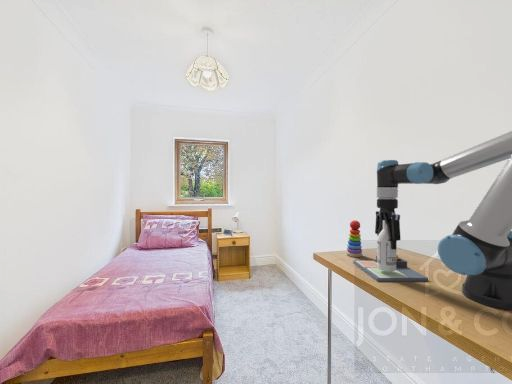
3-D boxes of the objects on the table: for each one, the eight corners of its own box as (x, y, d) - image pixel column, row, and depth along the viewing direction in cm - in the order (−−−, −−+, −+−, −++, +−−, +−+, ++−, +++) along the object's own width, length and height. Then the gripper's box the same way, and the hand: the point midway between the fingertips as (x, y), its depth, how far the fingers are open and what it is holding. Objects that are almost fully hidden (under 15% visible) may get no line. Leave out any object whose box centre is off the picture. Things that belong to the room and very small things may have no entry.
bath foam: (399, 269, 98) (399, 220, 98) (392, 273, 94) (392, 222, 93) (381, 265, 103) (381, 218, 103) (374, 268, 99) (374, 220, 99)
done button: (400, 262, 106) (401, 256, 106) (388, 262, 106) (388, 256, 106) (393, 258, 112) (393, 253, 112) (381, 258, 112) (381, 253, 112)
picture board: (428, 280, 93) (428, 271, 93) (376, 281, 93) (377, 271, 92) (394, 262, 115) (394, 255, 115) (353, 263, 115) (353, 255, 114)
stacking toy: (343, 255, 127) (344, 220, 127) (349, 252, 133) (350, 218, 133) (359, 258, 122) (359, 221, 122) (364, 255, 128) (364, 220, 127)
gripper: (412, 199, 88) (411, 261, 88) (383, 197, 108) (382, 248, 108) (392, 199, 88) (391, 261, 88) (366, 197, 108) (366, 248, 108)
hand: (386, 254), depth 98 cm, fingers closed on bath foam, 7 cm apart
